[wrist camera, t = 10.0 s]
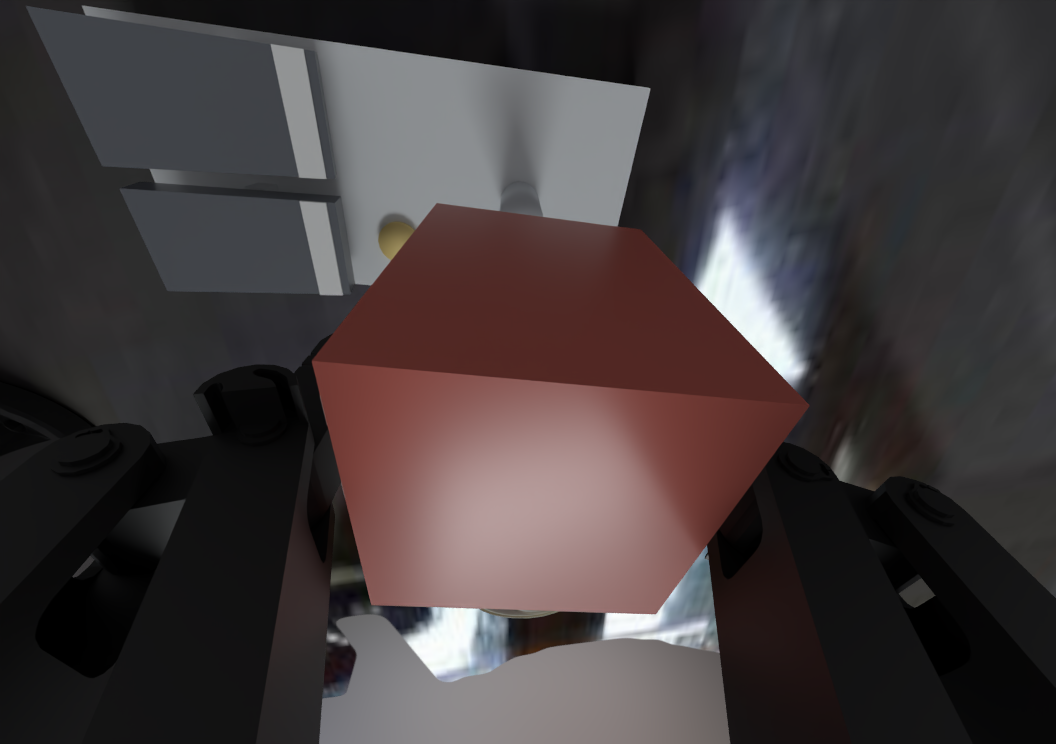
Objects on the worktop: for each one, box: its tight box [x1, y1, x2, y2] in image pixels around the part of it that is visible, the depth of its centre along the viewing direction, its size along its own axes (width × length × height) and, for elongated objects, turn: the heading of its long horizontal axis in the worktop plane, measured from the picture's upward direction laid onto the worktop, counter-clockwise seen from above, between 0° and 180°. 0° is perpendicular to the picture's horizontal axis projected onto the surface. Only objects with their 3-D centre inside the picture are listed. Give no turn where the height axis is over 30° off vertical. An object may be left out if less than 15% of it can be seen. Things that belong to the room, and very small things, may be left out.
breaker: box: [26, 6, 337, 179], centre depth 17 cm, size 9×5×2 cm, turn 83°
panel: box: [82, 6, 650, 285], centre depth 20 cm, size 26×12×8 cm, turn 84°
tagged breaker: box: [119, 182, 355, 295], centre depth 20 cm, size 9×5×2 cm, turn 83°
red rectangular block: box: [312, 203, 810, 614], centre depth 9 cm, size 6×6×8 cm
